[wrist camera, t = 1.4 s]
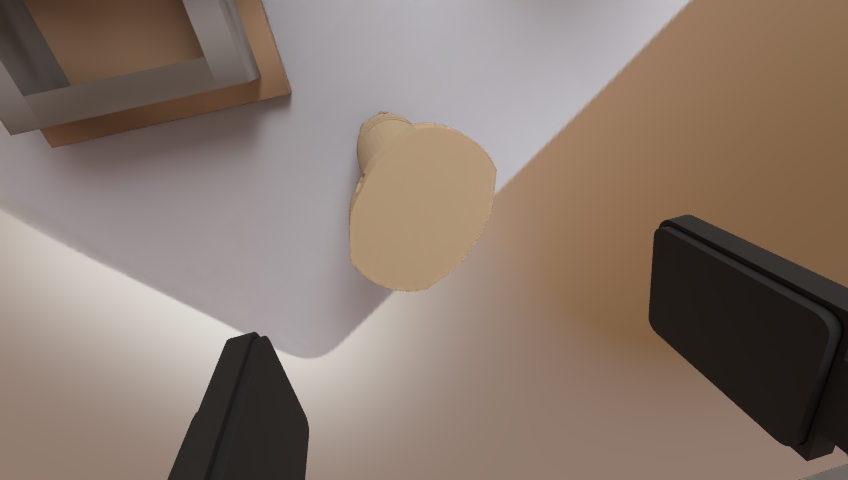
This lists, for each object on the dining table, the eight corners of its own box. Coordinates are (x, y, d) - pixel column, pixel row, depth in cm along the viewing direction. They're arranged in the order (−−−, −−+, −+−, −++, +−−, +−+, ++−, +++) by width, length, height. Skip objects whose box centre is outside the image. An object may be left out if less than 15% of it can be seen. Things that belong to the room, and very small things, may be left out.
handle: (434, 108, 28) (521, 165, 15) (393, 189, 30) (437, 305, 17) (370, 73, 26) (403, 102, 13) (331, 161, 28) (324, 266, 15)
